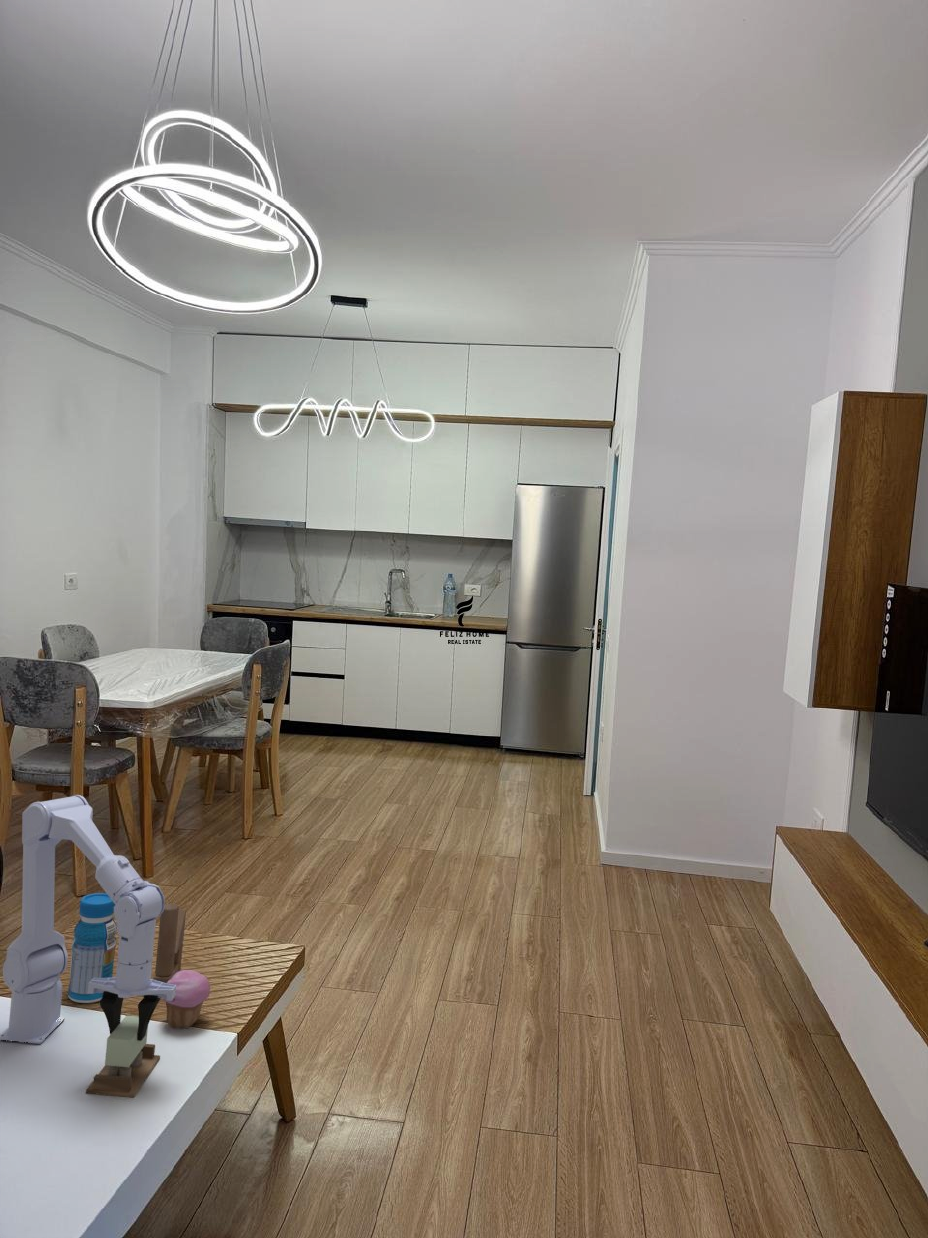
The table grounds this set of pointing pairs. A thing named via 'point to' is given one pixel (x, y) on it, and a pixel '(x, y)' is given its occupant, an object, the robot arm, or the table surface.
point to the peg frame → (125, 1075)
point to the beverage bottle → (92, 946)
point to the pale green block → (124, 1043)
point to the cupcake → (186, 998)
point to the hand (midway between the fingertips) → (128, 1036)
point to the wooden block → (170, 942)
